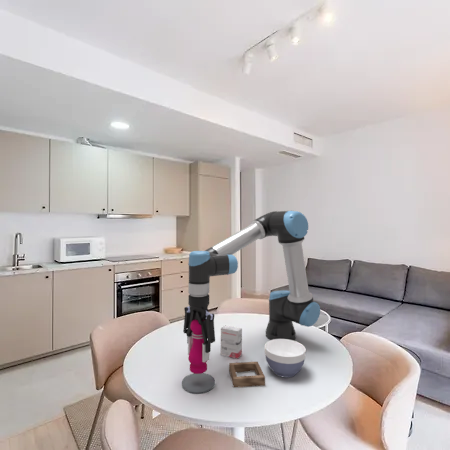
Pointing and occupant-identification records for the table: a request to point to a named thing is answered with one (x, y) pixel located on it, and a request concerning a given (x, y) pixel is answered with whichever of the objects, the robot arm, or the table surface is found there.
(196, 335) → the pepper mill
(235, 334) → the ink box
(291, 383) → the table surface
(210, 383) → the coaster
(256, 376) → the collar
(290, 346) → the bowl
